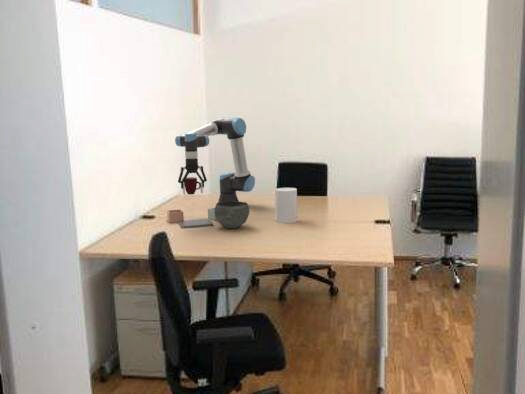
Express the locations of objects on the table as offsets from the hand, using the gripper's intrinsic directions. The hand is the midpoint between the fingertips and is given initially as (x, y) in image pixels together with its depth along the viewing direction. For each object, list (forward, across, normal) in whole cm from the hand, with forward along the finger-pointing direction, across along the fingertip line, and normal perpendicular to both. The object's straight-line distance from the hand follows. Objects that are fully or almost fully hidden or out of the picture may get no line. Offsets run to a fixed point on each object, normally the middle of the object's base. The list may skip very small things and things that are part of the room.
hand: (192, 193), depth 364 cm
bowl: (+19, -20, +22) cm, 35 cm away
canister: (+19, -56, +17) cm, 61 cm away
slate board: (+19, 0, +4) cm, 19 cm away
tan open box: (+19, +10, -8) cm, 23 cm away
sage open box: (+19, -16, -4) cm, 25 cm away
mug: (+1, 0, 0) cm, 1 cm away
